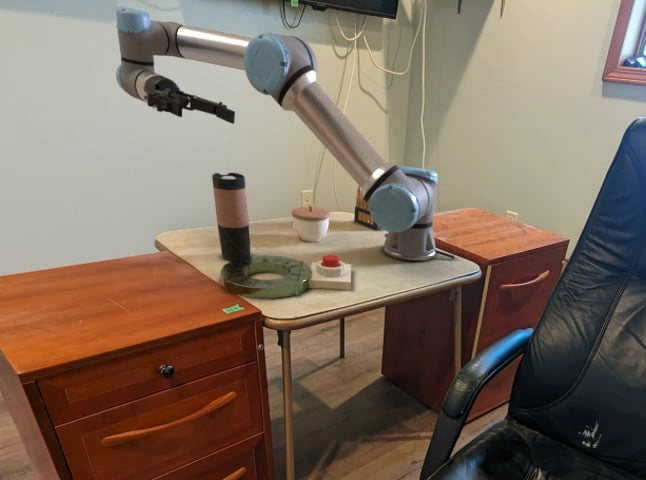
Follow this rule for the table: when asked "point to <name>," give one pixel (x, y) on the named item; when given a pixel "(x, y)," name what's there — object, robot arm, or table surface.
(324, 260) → the switch button
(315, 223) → the trinket box
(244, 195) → the travel mug
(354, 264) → the table surface
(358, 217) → the ammunition clip
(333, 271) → the switch box
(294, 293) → the ring
